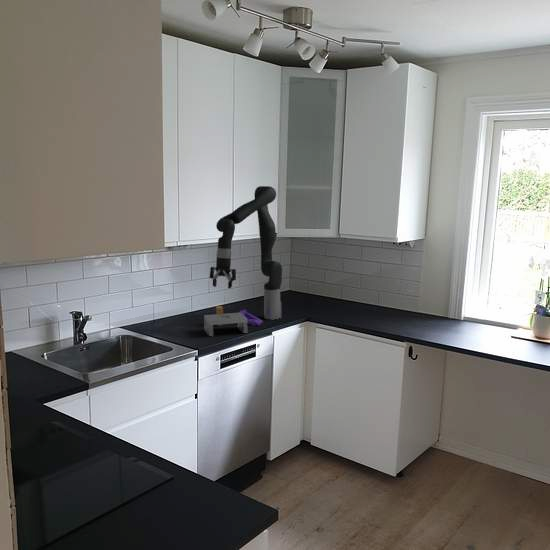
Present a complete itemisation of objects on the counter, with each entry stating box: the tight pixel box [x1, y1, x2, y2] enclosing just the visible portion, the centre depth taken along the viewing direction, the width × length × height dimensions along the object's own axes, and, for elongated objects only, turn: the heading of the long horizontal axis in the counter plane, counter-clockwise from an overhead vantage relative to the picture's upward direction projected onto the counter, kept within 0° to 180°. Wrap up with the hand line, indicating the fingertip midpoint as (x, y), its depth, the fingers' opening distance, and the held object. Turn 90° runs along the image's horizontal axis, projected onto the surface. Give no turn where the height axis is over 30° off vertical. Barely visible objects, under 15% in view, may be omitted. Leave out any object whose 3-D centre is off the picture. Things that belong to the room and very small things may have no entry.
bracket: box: [238, 309, 264, 326], centre depth 307 cm, size 12×7×7 cm, turn 69°
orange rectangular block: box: [215, 305, 224, 327], centre depth 303 cm, size 3×4×10 cm, turn 17°
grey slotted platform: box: [203, 312, 249, 337], centre depth 289 cm, size 20×14×8 cm
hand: (222, 287), depth 293 cm, fingers open, 8 cm apart
